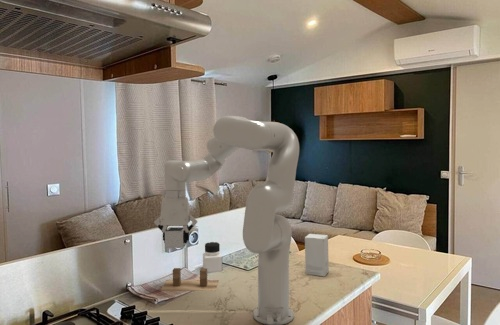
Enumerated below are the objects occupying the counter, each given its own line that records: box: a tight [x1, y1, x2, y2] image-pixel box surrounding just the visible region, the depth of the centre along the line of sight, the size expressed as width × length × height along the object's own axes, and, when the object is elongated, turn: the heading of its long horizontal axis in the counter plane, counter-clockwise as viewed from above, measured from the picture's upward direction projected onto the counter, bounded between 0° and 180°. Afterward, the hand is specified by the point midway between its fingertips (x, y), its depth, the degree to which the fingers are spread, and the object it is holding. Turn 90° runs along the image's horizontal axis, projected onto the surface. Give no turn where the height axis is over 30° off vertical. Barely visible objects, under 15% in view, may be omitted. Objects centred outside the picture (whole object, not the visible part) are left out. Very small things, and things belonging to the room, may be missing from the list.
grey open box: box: [164, 226, 187, 249], centre depth 140 cm, size 7×7×6 cm
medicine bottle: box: [202, 241, 223, 273], centre depth 159 cm, size 7×7×12 cm
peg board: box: [159, 267, 220, 292], centre depth 141 cm, size 10×20×7 cm, turn 88°
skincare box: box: [304, 233, 330, 277], centre depth 155 cm, size 8×7×16 cm
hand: (176, 242), depth 140 cm, fingers closed on grey open box, 6 cm apart
